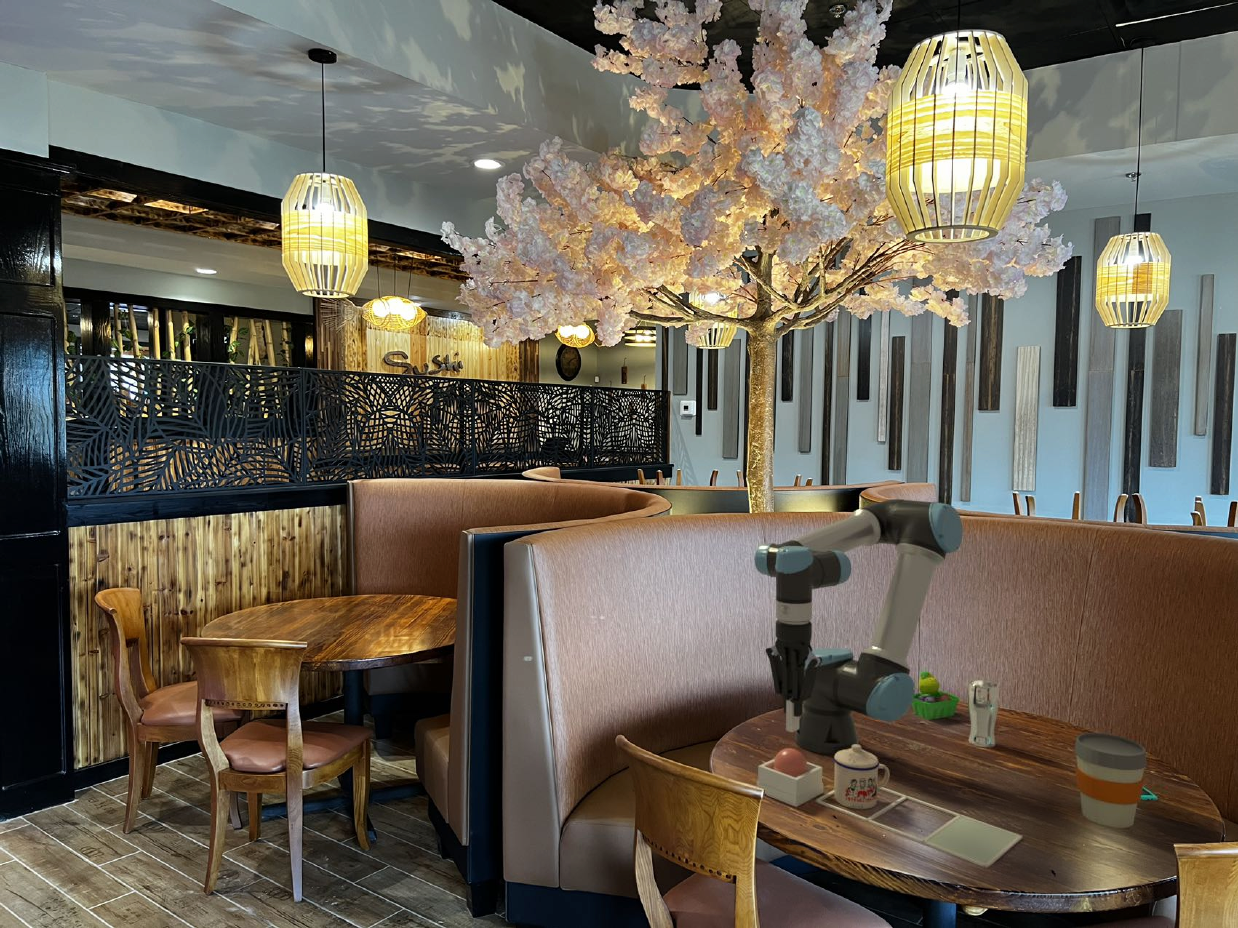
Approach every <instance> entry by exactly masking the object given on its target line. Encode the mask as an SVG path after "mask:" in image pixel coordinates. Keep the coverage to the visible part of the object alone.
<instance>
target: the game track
mask: <svg viewBox="0 0 1238 928" xmlns="http://www.w3.org/2000/svg"><path fill="white" fill-rule="evenodd" d="M877 790H880V791H883V792H885V793H889V794H892V795H895V796H898V797H900V798H899V799H897V800H895V801H894V802H891V803H890V804H889V805H887V806H885V807H884V808H882V809H881V810H879V811H877V812H875V813H874V814H872V815H870V816H869V817H867V818H866V817H864V816H861V815H860V814H859V815H858V814H856V813H854V812H851V811H849V810H846V809H843V808H840V807H837V806H836V805H834V804H830V803H828V802H825V801H823V800H826V799H827V798H829V797H831V796H834V789H833V790H831V791H829V792H827V793H826V794H823V795H821V796H820V797H818V798H816V799H815V800H814V802H815V803H817V804H820V805H822V806H825V807H827V808H830V809H832V810H835V811H837V812H840V813H842V814H845V815H848V816H851V817H853V818H855V819H858V820H862V821H863V822H866V823H868V824H871V825H874V826H876V827H879V828H881V829H885V830H887V831H889V832H891V833H894V834H897V835H900V836H902V837H905V838H907V839H910V840H912V841H915V842H917V843H921V844H923V845H926V846H928V847H931V848H933V849H936V850H939V851H941V852H943V853H946V854H948V855H952V856H954V857H956V858H958V859H961V860H964V861H967V862H970V863H972V864H974V865H978V866H980V867H982V868H984V869H985V868H986V869H988V868H989V867H991V866H992V865H993V864H994V863H995V862H997V860H998V859H1000V858H1002V856H1004V854H1006V853H1007V852H1008V851H1009V850H1011V848H1012V847H1014V846H1015V845H1016V844H1017V843H1018V842H1019V841H1021V840H1022V839H1023V835H1020V834H1018V833H1015V832H1013V831H1009V830H1007V829H1004V828H1001V827H998V826H995V825H992V824H990V823H986V822H983V821H982V820H981V821H980V820H978V819H975V818H973V817H969V816H966V815H963V814H960V813H958V812H954V811H952V810H949V809H946V808H942V807H941V806H937V805H934V804H932V803H930V802H929V803H928V802H926V801H922V800H920V799H917V798H914V797H912V796H908V795H905V794H904V793H901V792H897V791H895V790H892V789H889V788H885V787H884V786H883V787H882V788H878V789H877ZM905 800H909V801H912V802H915V803H918V804H920V805H923V806H926V807H929V808H932V809H934V810H937V811H940V812H943V813H945V814H948V815H951V816H954V817H953V818H952V819H950V820H948V821H947V822H946V823H944V825H941V826H940V827H939V828H938V829H936V830H935V831H934V832H932V833H930V834H929V835H928V836H926V837H925V838H923V839H922V838H919V837H916V836H914V835H911V834H908V833H907V832H903V831H900V830H898V829H896V828H893V827H890V826H888V825H885V824H883V823H880V822H877V821H875V820H874V819H876V818H878V817H879V816H881V815H883V814H884V813H886V812H887V811H889V810H890V809H893V808H894V807H896V806H897V805H898V804H901V803H902V802H904V801H905Z"/></svg>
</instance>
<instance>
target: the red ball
mask: <svg viewBox="0 0 1238 928" xmlns="http://www.w3.org/2000/svg"><path fill="white" fill-rule="evenodd" d="M773 759H774V770H776V771H779V772H781V773H784V774H787V775H789V776H792V777H795V778H796V777H798V776H800V775H802V774H804V773H806V772H807V762H808V761H807V759H806V758H805V756H804V754H803V753H801V752H800V751H799V750H797V749H795V748H791V747H788V748H783V749H781V750H780V751H778V753H776V756H775V757H774V758H773Z"/></svg>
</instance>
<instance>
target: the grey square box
mask: <svg viewBox="0 0 1238 928" xmlns="http://www.w3.org/2000/svg"><path fill="white" fill-rule="evenodd" d="M774 759H775V758H772V759H771V760H769V761H766V762H763V763H762V764H760V765H758V767H757V768H758V769H757V770H758V771H757V781H756V788H757V787H759V788H763V789H764V790H765V794H766V796H767V797H770V798H773V799H775V800H778V801H779V802H782V803H785V804H788V805H789V806H792V807H795V808H798V806H801V805H803V804H805V803H807V802H808V801H810V800H812V799H815V798H816V797H817V796H820V795H821V794H823V793H824V782H823V766H820V765H817V764H814V763H811V762H808V761H806V762H807V772H806V773H804V774H802V775H800V776H798V777H796V778H795V777H792V776H789V775H787V774H784V773H781V772H779V771H776V770H774ZM765 794H764V795H765Z"/></svg>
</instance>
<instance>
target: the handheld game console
mask: <svg viewBox="0 0 1238 928" xmlns="http://www.w3.org/2000/svg"><path fill="white" fill-rule="evenodd" d="M1141 799H1142V800H1141V801H1147V800H1148V799H1149V800H1148V801H1158V796H1156V795H1155V794H1154V793H1152V792H1151V791H1150V790H1148V789H1147V788H1145V787H1144V786H1143V790H1142V795H1141ZM1151 799H1153V800H1151ZM1154 799H1156V800H1154Z"/></svg>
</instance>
